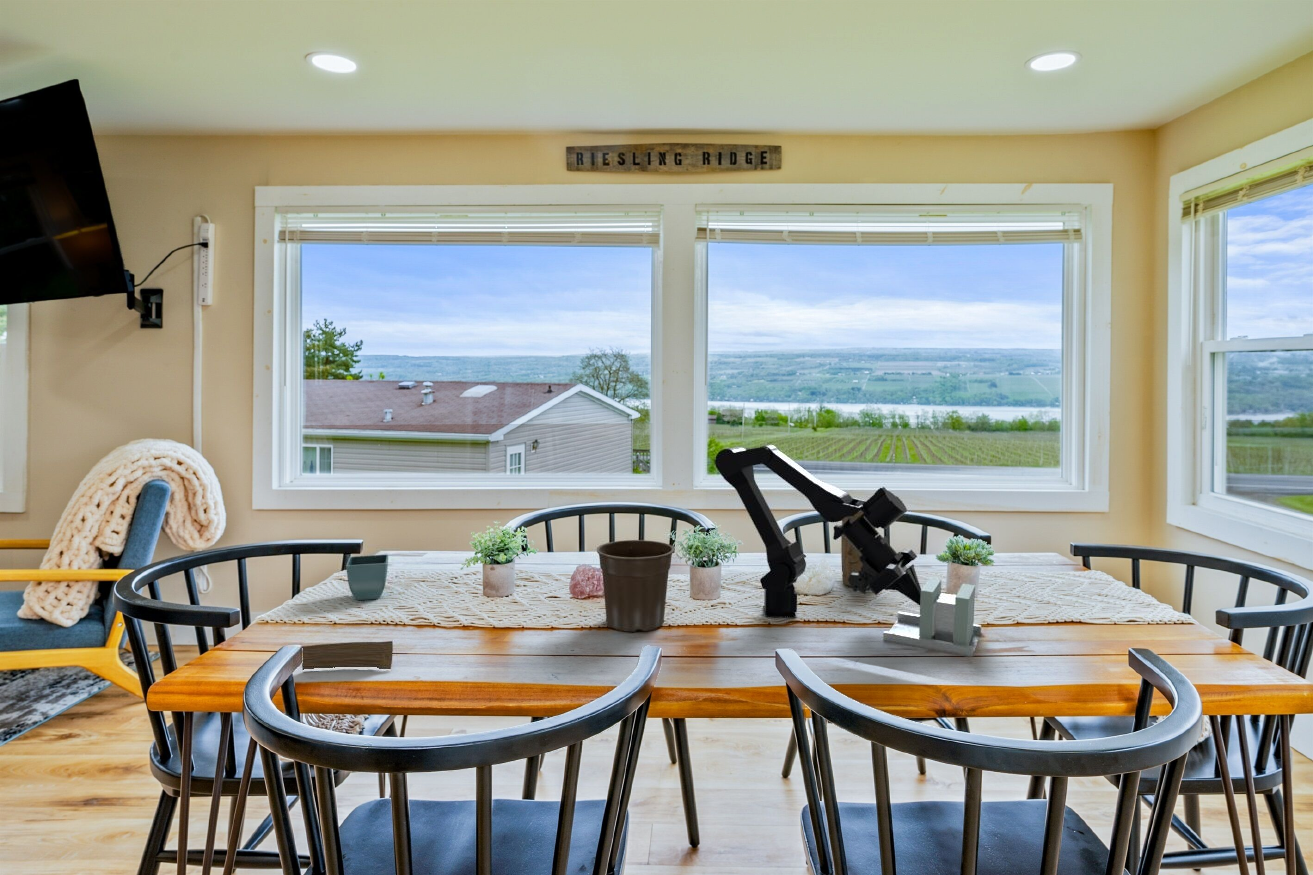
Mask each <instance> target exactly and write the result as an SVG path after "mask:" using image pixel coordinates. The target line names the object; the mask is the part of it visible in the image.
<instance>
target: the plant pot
mask: <svg viewBox="0 0 1313 875" xmlns="http://www.w3.org/2000/svg"><path fill="white" fill-rule="evenodd" d="M596 552H597V554H598V556H599V566H600V569H601V572H602V583H603V593H604V594H603V595H604V605H605V606H604V607H605V618H606V619H605V620H606V622H607V625H608V627H609V628H612V629H614V630H615V631H616V630H617V631H620V632H629V633H633V632H636V631H637V630H640V631H642V632H648V631H653V630H657V629H659V628H661V626H663V625H664V624H665V614H666V612H665V611H666V603H667V602H666V601H667V592H668V579H669V572H670V571H669V570H670V569H671V567H672V565H671V564H672V555H673V553H674V552H675V547H674V546H673V545H671V544H668V543H665V542H662V541H656V540H645V539H643V540H642V539H640V540H639V539H631V540H629V539H627V540H616V541H611V542H606V543H602V544H600V545H599V546H598V547H596Z"/></svg>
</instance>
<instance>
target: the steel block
mask: <svg viewBox="0 0 1313 875" xmlns="http://www.w3.org/2000/svg"><path fill="white" fill-rule="evenodd" d="M956 595H957V594H949V593H943V592H941V594H940V595H939V597H938V599H937V600H936V611H935V636H934V640H939V641H945V642H950V643H953V642H954V641H953V623H954V609H955V597H956Z"/></svg>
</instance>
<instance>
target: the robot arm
mask: <svg viewBox="0 0 1313 875" xmlns="http://www.w3.org/2000/svg"><path fill="white" fill-rule="evenodd" d="M714 465H715V467H716V470H717V471H718V473H719V474H720V475H721V477H722V478H723V479H724V480H725V481H726V482H727V483H728V484H729V485H730V486H732V488H734V489H735V491H736V492H737V494H738V496H739V498H740V500H741V502H742V504H743V506H744V508H745V509H746V512H747V514H748V516H749V517H750V519H751V521H752V524H753V525H754V527H755V529H756V532H757V533H758V536H760V539H761V540H762V542H763V545H764V546H765V551H766V559H767V560H766V561H767V565H768V567H769V571H768V572H767V573H766V574H765V575H763V576H762V577H761V578H760V579H759V581H760V584H761V587H762V589H763V590H764V592H763V593H764V596H763V598H764V599H763V600H764V602H763V603H764V604H763V606H762V609H763V613H764V616H765V617H766V618H792V619H793V618H796V617H797V616H796V613H797V612H798V593H797V591H796V590H795V588H796V587H795V585H794V584H795V583H797V580H798V578H799V577H801V576H802V575H803V574H804V573H805V570H806V568H807V562H806V560H805V559H806V558H807V555H806V554H804V552H803V551H802V549H801V546H800V544H799V542H798V540H794V541H793V542H791V541H790V540H788V539H787V538H786V536H785V535H784V533H783V531H782V529H781V528H780V526H779V524H778V522H777V520H776V519H775V516H774V515H773V512H772V511H771V509H770V507H769V505H768V503H767V501H766V499H765V497H764V495H763V494H762V491H761V490H760V488H759V486H758V484H757V482H756V479H755V471H754V466H758V465H764V466H765V467H767V468H768V469H769V470H770V471H771V472H773V473H774V474H775V475H777V476H778V477H780V478H781V479H782V480H783V481H785V482H786V483H788V484H789V485H790V486H791V487H793V489H795V490H797V491H798V492H799V493H801V494H802V495H803V496H804V497H805V498H806V499H807V500H808V501H809V503H810V504H811V505H812V507H813V509H814V510H815V511H816V512H817V513H818V514H819V515H820V516H821V517H822V518H823V519H824V520H825V521H826V522H829V523H838V522H840V521H841V522H842V520H843V519H844V518H846V517H850V516H854V515H856V514H857V513H859V512H861V511H863V514H862V515H861V516H860V517H859V518H857V519H854V518H849V519H848V520H847V521H846V522H845V523H843V524H842V523H841V525H840V524H836V525H834V526H833V537H832V539H833V540H835V541H836V540H838V539H839V538H841V536H842V535H844V536H845V537H846V539H847V540H848V541H849V542H850V543H851V544H852V545H853V547H854V548H855V549H856V550H857V551H858V552H859V553H860V555H861V556H860V557H859V558H860V559H859V560H860V561H861V563H862V564H863V566H862V567H861V569H860V570H859V572H858V573H852V574H851V575H850V576H849V578H848V582H849V583H850V585H851V586H849V587H851V588H852V590H853V592H860V593H861V594H863V595H866V594H867V592H869V591H871V592H872V593H873V595H875V596H877V595H878V594H879V593H881V592H882V591H884V590H885V591H889V590H890V591H897V592H899V593H900V594H902V595H904V596H905V597H906V598H908V599H909V600H911V601H912V602H914V603H915V604H916V605H918V606H920V597H921V589H922V587H921V585H920V581H919V578H918V575H917V572H916V569H915V565H914V564H911V565H910V566H908V565H909V564H910V563H911V562H912V561H915V560H916V558H917V557H918V554H916V553H915V552H914V551H913V549H909V548H904V549H903V550H901V551H898V552H897V551H896V550H895V549H894V548H893V547H892V546H891V545H890V544H889V542H888V541H890V540H889V538H888V537H887V536H886V535H885V536H884V537H883V536H882V535H881V534H880V533H879V531H878V530H877V529H880V528H881V529H883V530H885V529H888V527H890V526H891V525H892V524H894V523H895V522H897V521H898V519H899V518H900V517H901V516H903V515H905V514H907V511H908V509H907V507H906V505H905V503H903V501H902V500H901V499H900V498H899V496H896V495H895V494H894V493H892V492H891V491H890V490H887V488H886V487H885V486H881V487H879V488H878V489H877V490H876V491H875V492H874V494H872V496H870V497H869V498H868V499H867V500H863V499H859V498H855V497H852V496H851V494H849V493H847V492H846V491H844V490H842V489H840V488H838V487H837V486H833V485H831V484H828V483H826V482H823V481H821V480H819V479H818V478H816V477H815V476H814V475H812V474H811V473H809V472H808V471H807V470H806V469H804V468H803V467H802V466H801V465H799V464H798V463H796V462H795V461H793V460H792V459H791V458H790V457H788V456H787V455H786V454H784V453H783V452H781V451H780V450H779V449H778V448H777V447H776V446H775V445H773V444H767V445H761V446H759V447H752V448H747V449H746V448H743V447H741V446H732V447H727V448H723V449H721V450H719V451H718V453H717V454H716V456H715V458H714ZM864 516H865V517H866V518H865V517H864ZM873 526H874V527H875V528H874V527H873ZM861 548H862V549H861ZM860 549H861V550H860ZM859 550H860V551H859ZM907 566H908V567H907Z"/></svg>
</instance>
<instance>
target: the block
mask: <svg viewBox="0 0 1313 875" xmlns="http://www.w3.org/2000/svg"><path fill="white" fill-rule="evenodd" d="M862 514H863V511H861V512H859V513H857V514H856V515H854V516H850V517H846V518H844V519H843V520H841V525H842V524H843V523H845V522H846V521H847V520H848V519H849V518H854V519H857V518H859V517H860V516H861V515H862ZM864 517H865V516H864ZM865 518H866V517H865ZM873 527H874V526H873ZM874 528H875V527H874ZM875 529H876V528H875ZM840 540H841V545H840V546H841V549H840V550H841V553H840V554H841V556H840V557H841V573H842V574H841V577H842V582H843V583H844V585H846V586H848V587H850V586H851V585H850V583H849V582H848V578H849V576H850V575H851V574H852V573H858V572H859V570H860V569H861V567H862V566H863V564H862V563H861V561H860V560H859V559H860V558H859V557H860V556H861V555H860V553H859V552H858V551H857V550H856V549H855V548H854V547H853V545H852V544H851V543H850V542H849V541H848V540H847V539H846V537H845V536H844V535H842V536H841V537H840ZM861 549H862V548H861ZM861 549H860V550H861ZM860 550H859V551H860Z"/></svg>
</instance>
